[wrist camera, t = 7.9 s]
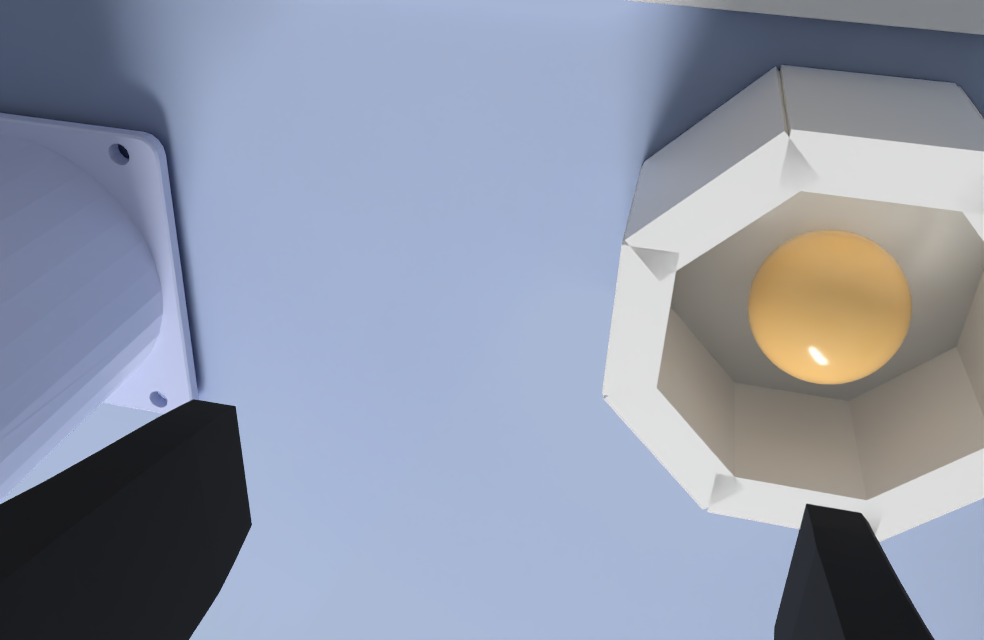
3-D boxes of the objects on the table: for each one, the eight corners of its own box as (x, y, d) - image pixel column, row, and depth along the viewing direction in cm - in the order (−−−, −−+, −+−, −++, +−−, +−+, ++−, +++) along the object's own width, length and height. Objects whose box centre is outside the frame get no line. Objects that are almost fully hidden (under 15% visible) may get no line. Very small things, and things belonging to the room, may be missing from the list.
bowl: (611, 384, 23) (589, 490, 19) (657, 52, 19) (639, 111, 15) (961, 442, 21) (1003, 566, 18) (1093, 97, 17) (1179, 174, 14)
